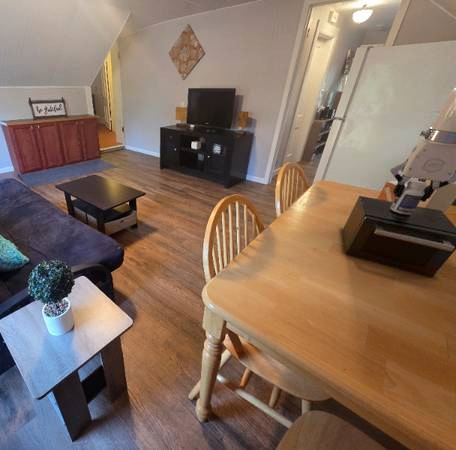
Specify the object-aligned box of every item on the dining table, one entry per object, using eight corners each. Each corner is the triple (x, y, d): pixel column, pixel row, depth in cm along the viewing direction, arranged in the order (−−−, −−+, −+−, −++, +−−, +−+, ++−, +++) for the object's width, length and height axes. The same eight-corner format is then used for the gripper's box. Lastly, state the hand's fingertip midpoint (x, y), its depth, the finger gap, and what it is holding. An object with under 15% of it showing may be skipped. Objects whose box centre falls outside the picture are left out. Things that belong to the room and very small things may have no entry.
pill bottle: (416, 214, 76) (435, 185, 71) (402, 215, 76) (420, 186, 70) (399, 206, 81) (416, 178, 76) (385, 207, 80) (401, 179, 75)
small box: (371, 207, 113) (386, 181, 106) (383, 206, 114) (398, 180, 107) (388, 216, 106) (405, 188, 99) (401, 214, 107) (418, 187, 100)
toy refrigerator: (431, 235, 93) (469, 184, 82) (408, 232, 95) (441, 182, 84) (420, 225, 100) (453, 176, 89) (398, 222, 102) (428, 174, 91)
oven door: (436, 287, 71) (472, 247, 63) (346, 261, 80) (367, 224, 72) (430, 274, 75) (462, 235, 67) (345, 251, 84) (364, 215, 76)
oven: (429, 274, 75) (462, 234, 67) (345, 251, 85) (364, 214, 77) (415, 247, 87) (441, 210, 79) (342, 230, 96) (359, 195, 88)
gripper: (408, 136, 67) (376, 196, 77) (499, 144, 60) (451, 209, 69) (401, 131, 73) (372, 187, 82) (484, 138, 65) (441, 199, 75)
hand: (409, 197), depth 76 cm, fingers closed on pill bottle, 5 cm apart
